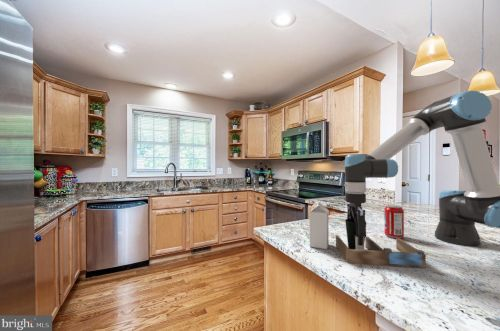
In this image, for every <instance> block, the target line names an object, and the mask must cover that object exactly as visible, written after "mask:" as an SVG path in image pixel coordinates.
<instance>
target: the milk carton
mask: <svg viewBox="0 0 500 331" xmlns="http://www.w3.org/2000/svg"><path fill="white" fill-rule="evenodd" d="M329 235H330V234H329V209H328V208H327V207H326V206H325V205H323V204H322V203H321V200H319V201H318V202H317V204H316V203H314V204H313V205H311V210H309V247H310V248H315V249H316V248H317V249H322V250H328V248H329V240H330V238H329Z"/></svg>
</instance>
